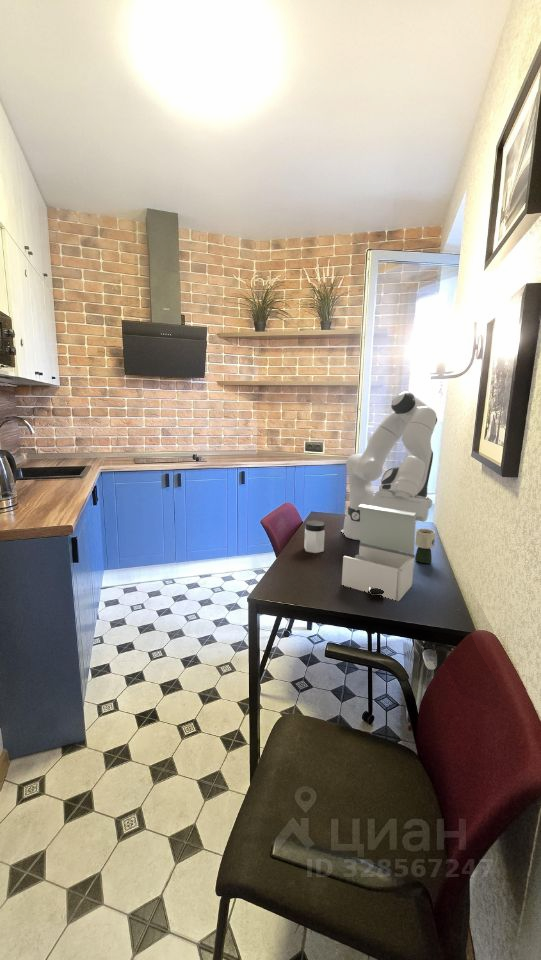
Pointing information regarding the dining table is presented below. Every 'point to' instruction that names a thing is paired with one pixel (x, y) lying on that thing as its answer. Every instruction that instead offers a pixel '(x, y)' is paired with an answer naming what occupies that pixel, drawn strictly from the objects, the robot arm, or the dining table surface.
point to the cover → (387, 528)
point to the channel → (379, 571)
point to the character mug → (424, 545)
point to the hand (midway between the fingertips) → (392, 525)
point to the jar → (314, 536)
